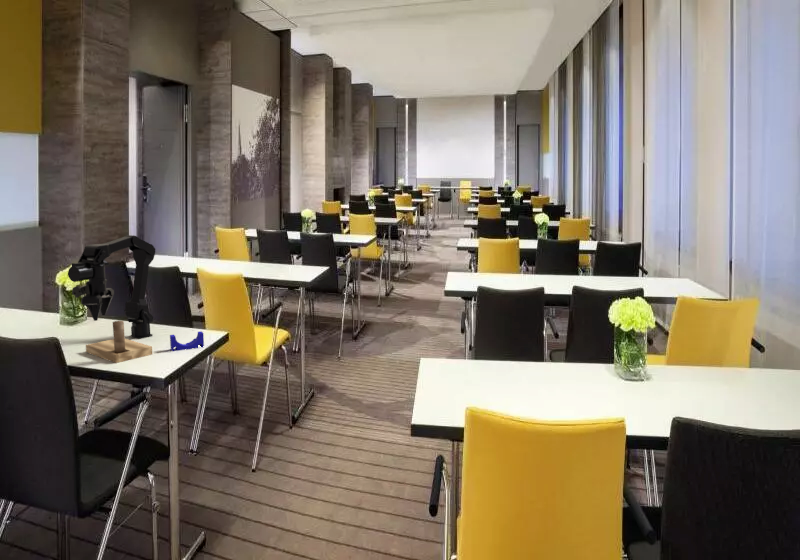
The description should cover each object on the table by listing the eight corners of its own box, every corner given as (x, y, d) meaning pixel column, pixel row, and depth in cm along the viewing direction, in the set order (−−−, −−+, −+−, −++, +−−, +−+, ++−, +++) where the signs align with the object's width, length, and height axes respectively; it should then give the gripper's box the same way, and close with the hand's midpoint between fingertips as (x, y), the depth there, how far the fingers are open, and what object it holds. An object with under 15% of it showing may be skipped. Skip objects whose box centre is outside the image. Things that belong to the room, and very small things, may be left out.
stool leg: (120, 357, 215) (117, 320, 212) (128, 358, 214) (125, 321, 211) (112, 359, 211) (110, 322, 209) (121, 360, 210) (118, 323, 208)
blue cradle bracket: (201, 344, 233) (200, 330, 232) (203, 347, 229) (203, 333, 228) (169, 348, 227) (169, 334, 226) (172, 351, 223) (171, 336, 222)
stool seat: (121, 344, 231) (121, 337, 231) (152, 354, 219) (151, 346, 218) (86, 352, 220) (85, 344, 219) (116, 363, 208) (115, 354, 207)
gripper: (83, 274, 228) (86, 313, 230) (64, 282, 210) (67, 324, 212) (113, 274, 230) (115, 312, 232) (97, 281, 212) (100, 323, 214)
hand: (99, 317), depth 223 cm, fingers open, 9 cm apart
